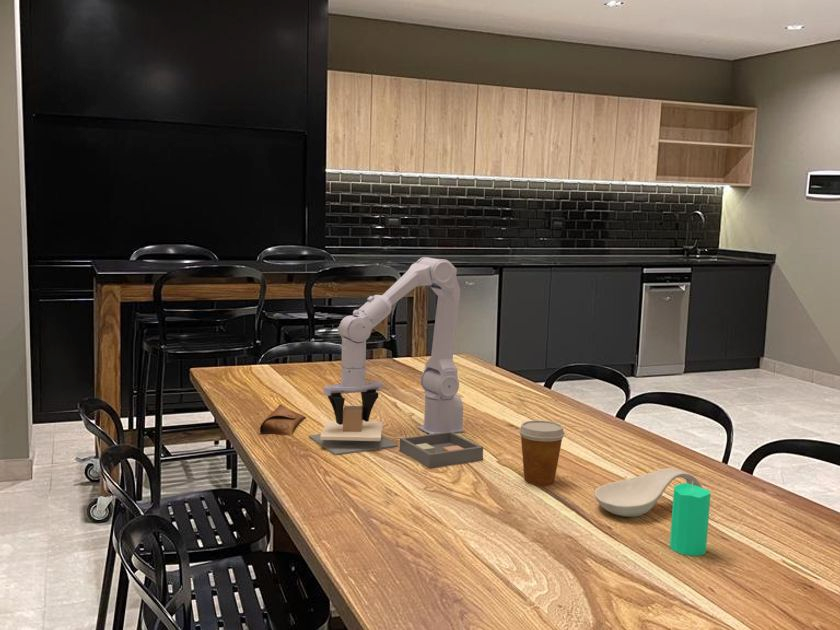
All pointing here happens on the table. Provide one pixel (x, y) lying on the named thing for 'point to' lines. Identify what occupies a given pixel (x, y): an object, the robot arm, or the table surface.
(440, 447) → the storage box
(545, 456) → the disposable coffee cup
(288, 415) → the sunglasses case
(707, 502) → the candle
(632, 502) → the spoon rest
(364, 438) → the lid
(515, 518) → the table surface
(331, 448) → the slate mat
